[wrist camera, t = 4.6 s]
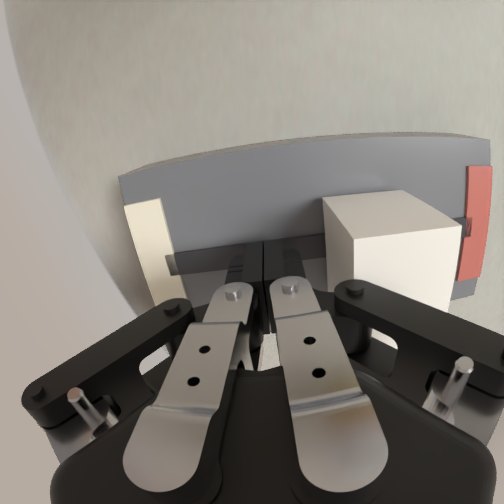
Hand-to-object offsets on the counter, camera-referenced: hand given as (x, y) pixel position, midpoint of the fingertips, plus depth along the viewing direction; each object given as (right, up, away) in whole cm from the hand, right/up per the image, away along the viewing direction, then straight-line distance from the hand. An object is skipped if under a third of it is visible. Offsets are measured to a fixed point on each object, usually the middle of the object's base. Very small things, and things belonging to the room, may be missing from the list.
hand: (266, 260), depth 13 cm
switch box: (+4, +2, +5) cm, 6 cm away
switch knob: (+5, +1, 0) cm, 5 cm away
